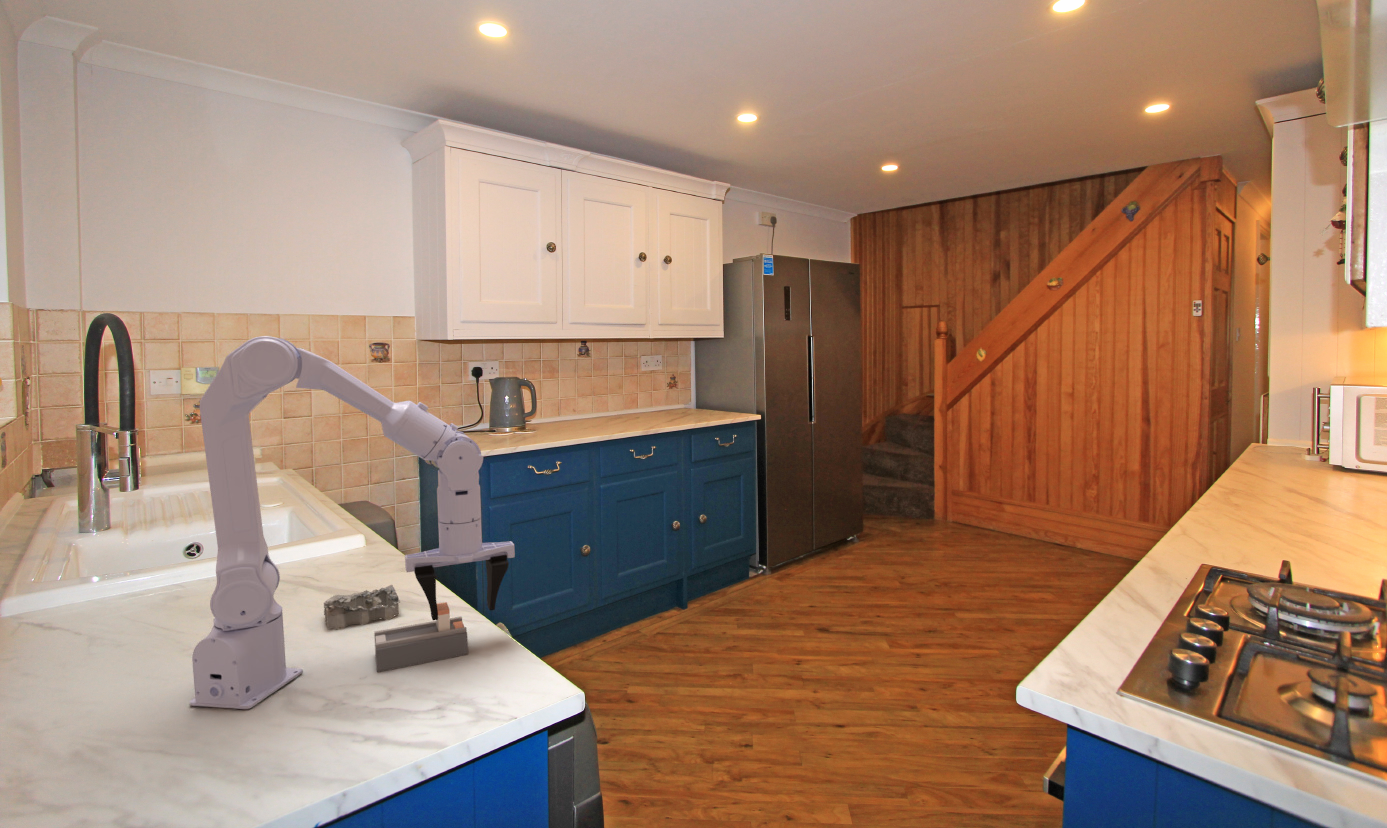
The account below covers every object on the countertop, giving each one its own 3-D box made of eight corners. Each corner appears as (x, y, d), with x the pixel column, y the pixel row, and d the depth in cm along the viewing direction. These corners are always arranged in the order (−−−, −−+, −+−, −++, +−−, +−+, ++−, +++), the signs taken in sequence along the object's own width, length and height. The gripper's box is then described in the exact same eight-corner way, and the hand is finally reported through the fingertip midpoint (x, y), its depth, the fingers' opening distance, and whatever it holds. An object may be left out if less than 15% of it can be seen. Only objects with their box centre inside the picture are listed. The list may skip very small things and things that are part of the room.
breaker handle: (438, 632, 94) (437, 611, 93) (436, 624, 96) (435, 603, 96) (450, 630, 94) (449, 609, 94) (447, 622, 97) (446, 602, 97)
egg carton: (325, 634, 102) (323, 607, 102) (323, 617, 108) (322, 592, 108) (401, 619, 107) (400, 594, 107) (396, 604, 114) (394, 580, 113)
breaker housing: (376, 672, 89) (375, 646, 89) (375, 653, 94) (374, 629, 94) (468, 654, 94) (467, 629, 94) (461, 637, 100) (460, 614, 99)
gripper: (406, 532, 88) (410, 632, 90) (518, 519, 95) (521, 613, 96) (402, 520, 95) (406, 614, 96) (507, 508, 101) (510, 596, 102)
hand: (463, 612), depth 96 cm, fingers open, 7 cm apart
